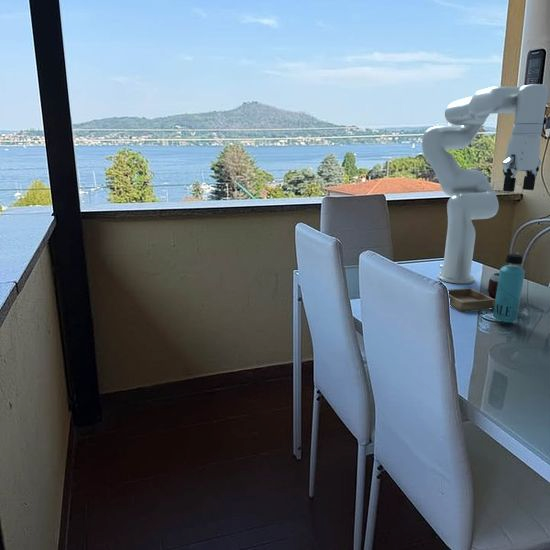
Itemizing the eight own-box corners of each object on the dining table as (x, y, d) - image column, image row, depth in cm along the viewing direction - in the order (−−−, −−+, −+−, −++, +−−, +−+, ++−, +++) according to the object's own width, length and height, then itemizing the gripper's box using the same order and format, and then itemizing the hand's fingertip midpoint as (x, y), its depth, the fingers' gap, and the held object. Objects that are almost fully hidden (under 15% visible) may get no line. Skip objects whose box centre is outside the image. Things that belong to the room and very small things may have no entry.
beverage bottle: (515, 320, 132) (526, 252, 127) (518, 329, 126) (530, 258, 121) (490, 317, 134) (500, 250, 129) (492, 325, 128) (503, 256, 123)
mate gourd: (486, 300, 148) (492, 255, 144) (487, 293, 155) (493, 250, 151) (512, 304, 145) (519, 258, 141) (511, 296, 152) (518, 252, 148)
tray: (438, 299, 149) (439, 290, 148) (469, 296, 152) (471, 287, 151) (460, 312, 138) (461, 302, 137) (493, 308, 141) (495, 299, 140)
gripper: (532, 131, 141) (523, 188, 145) (496, 130, 132) (488, 191, 137) (557, 130, 134) (547, 190, 139) (521, 130, 126) (512, 193, 131)
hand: (518, 190), depth 138 cm, fingers open, 9 cm apart
